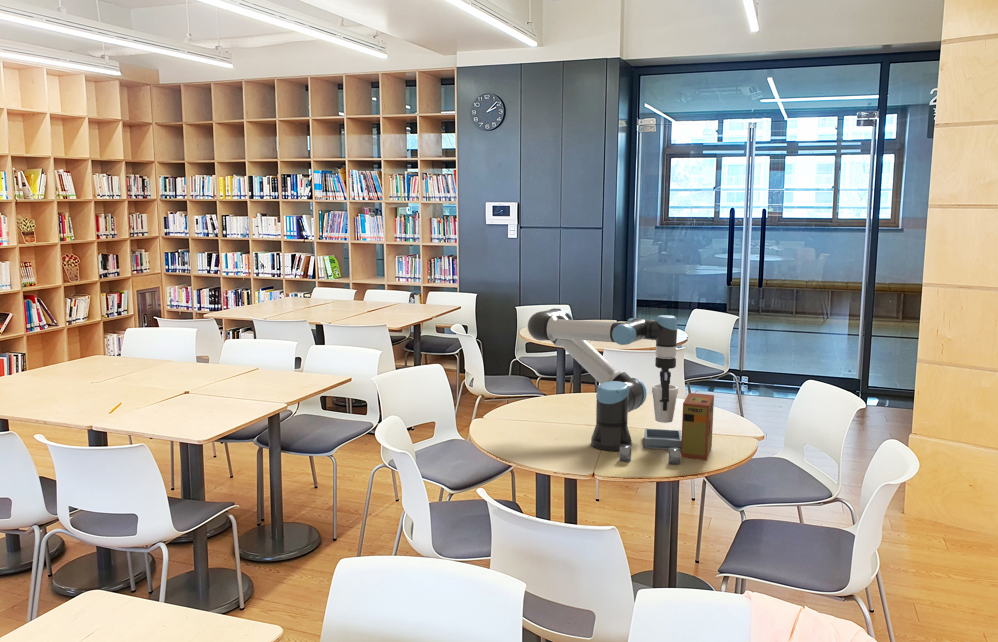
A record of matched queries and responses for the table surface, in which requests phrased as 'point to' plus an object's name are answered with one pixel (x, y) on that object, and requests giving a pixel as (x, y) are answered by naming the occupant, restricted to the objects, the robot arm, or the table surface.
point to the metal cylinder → (625, 453)
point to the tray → (662, 438)
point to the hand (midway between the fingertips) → (663, 415)
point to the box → (697, 426)
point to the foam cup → (657, 404)
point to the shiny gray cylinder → (674, 456)
